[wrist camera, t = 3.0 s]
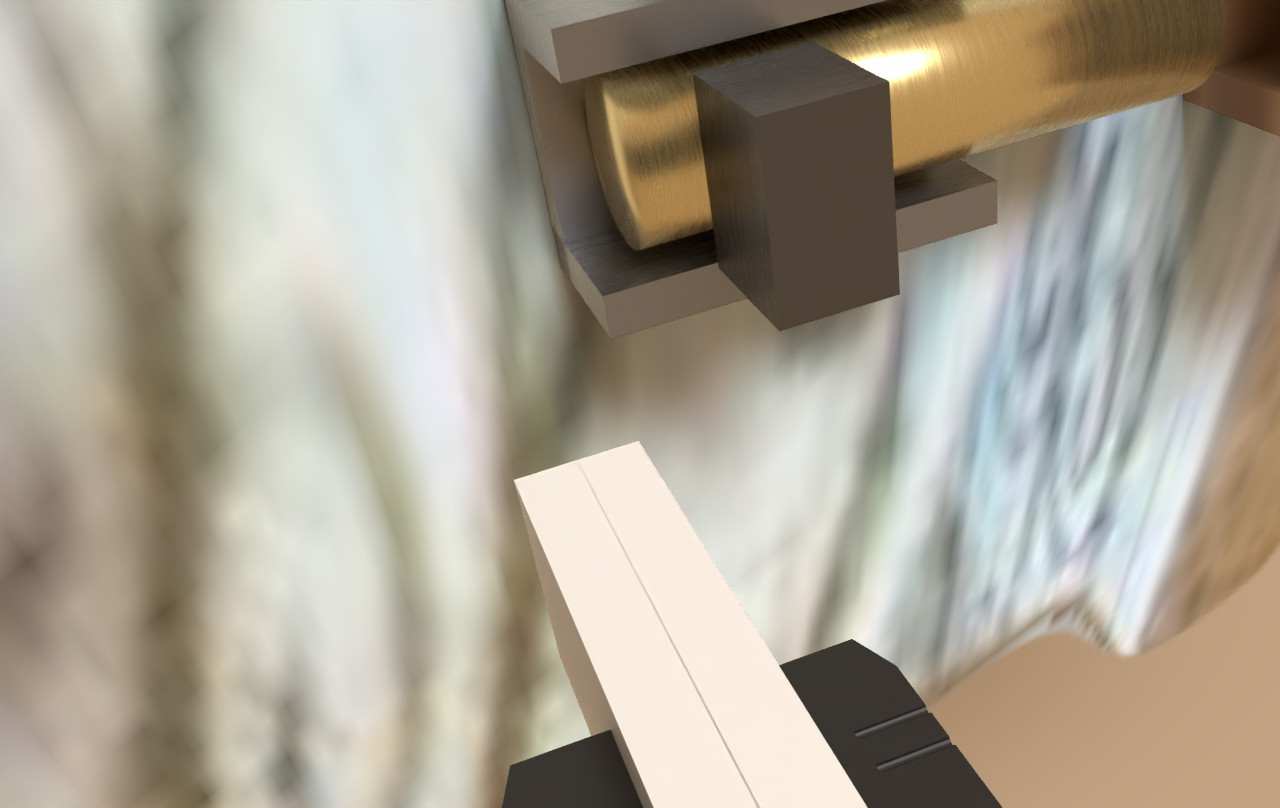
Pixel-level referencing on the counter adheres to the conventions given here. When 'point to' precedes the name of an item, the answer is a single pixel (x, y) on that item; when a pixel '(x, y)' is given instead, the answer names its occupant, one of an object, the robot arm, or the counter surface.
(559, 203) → the open channel
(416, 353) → the counter surface
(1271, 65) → the socket
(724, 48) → the brass bolt
